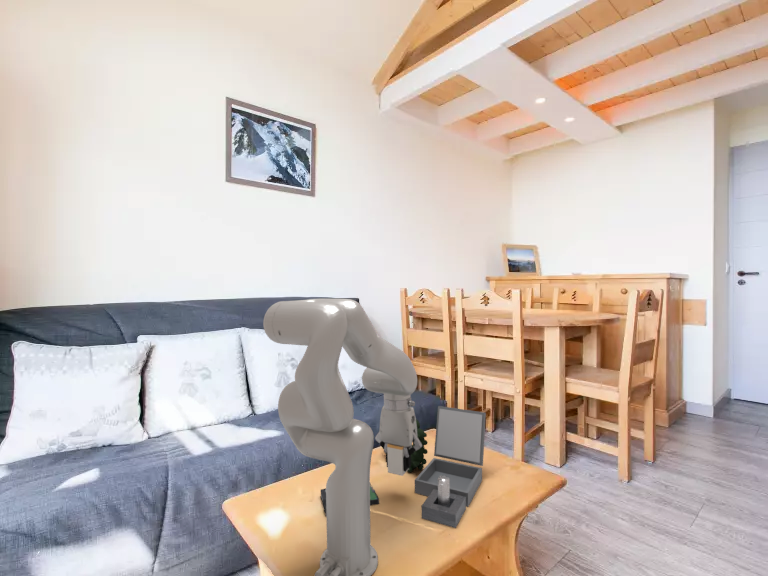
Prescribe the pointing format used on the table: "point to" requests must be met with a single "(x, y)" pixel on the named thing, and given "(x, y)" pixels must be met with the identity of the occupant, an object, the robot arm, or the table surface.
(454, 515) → the socket block
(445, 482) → the rod
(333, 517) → the robot arm
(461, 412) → the lid
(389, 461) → the block
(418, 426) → the toy figurine
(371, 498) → the disk drive
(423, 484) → the case
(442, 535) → the table surface
